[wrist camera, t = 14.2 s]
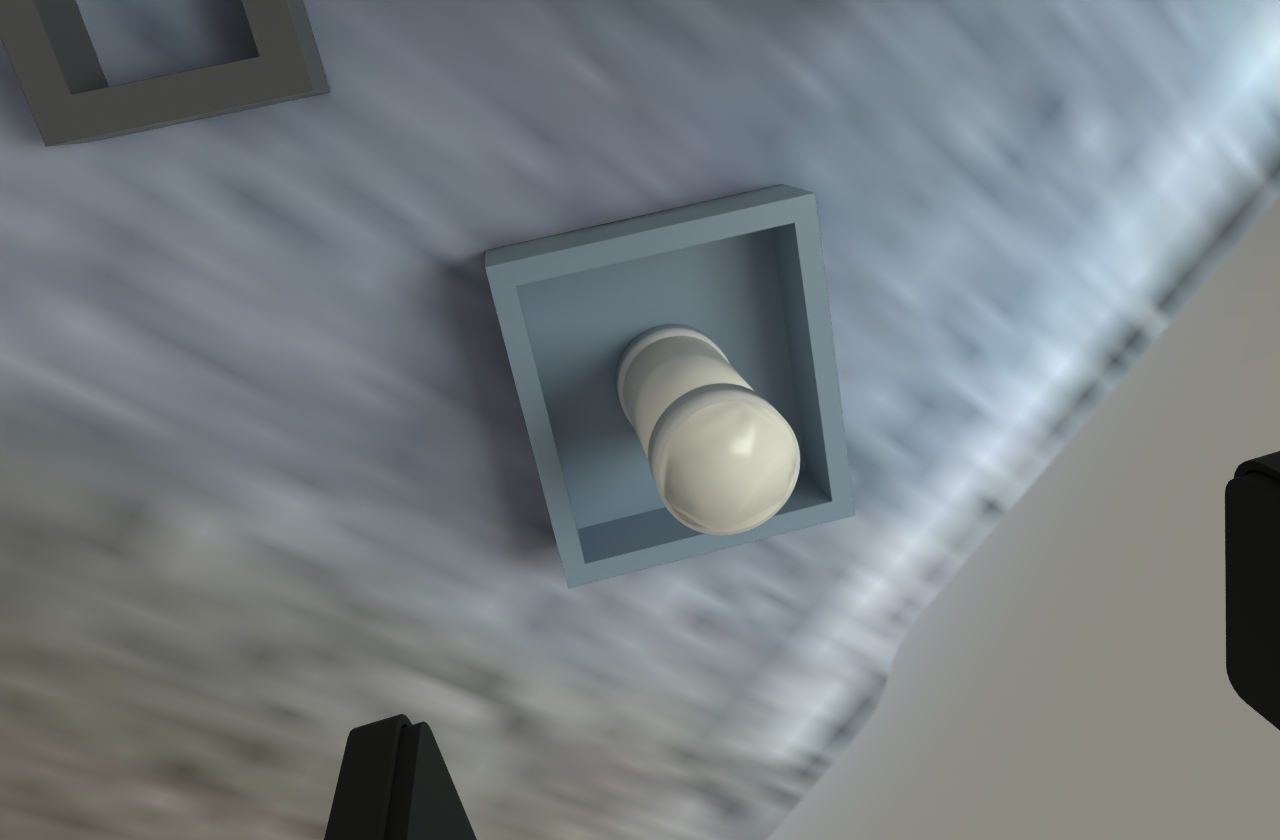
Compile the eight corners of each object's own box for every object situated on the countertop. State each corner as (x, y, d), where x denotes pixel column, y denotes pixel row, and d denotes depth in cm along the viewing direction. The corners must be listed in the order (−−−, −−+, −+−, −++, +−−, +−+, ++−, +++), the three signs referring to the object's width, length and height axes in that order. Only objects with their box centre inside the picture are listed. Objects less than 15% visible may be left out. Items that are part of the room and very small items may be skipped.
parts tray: (782, 184, 33) (814, 193, 30) (823, 479, 37) (855, 515, 34) (485, 250, 32) (485, 267, 29) (561, 544, 36) (568, 588, 33)
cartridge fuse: (715, 312, 34) (789, 382, 25) (732, 416, 35) (808, 515, 27) (604, 338, 33) (642, 417, 25) (627, 442, 35) (670, 550, 26)
